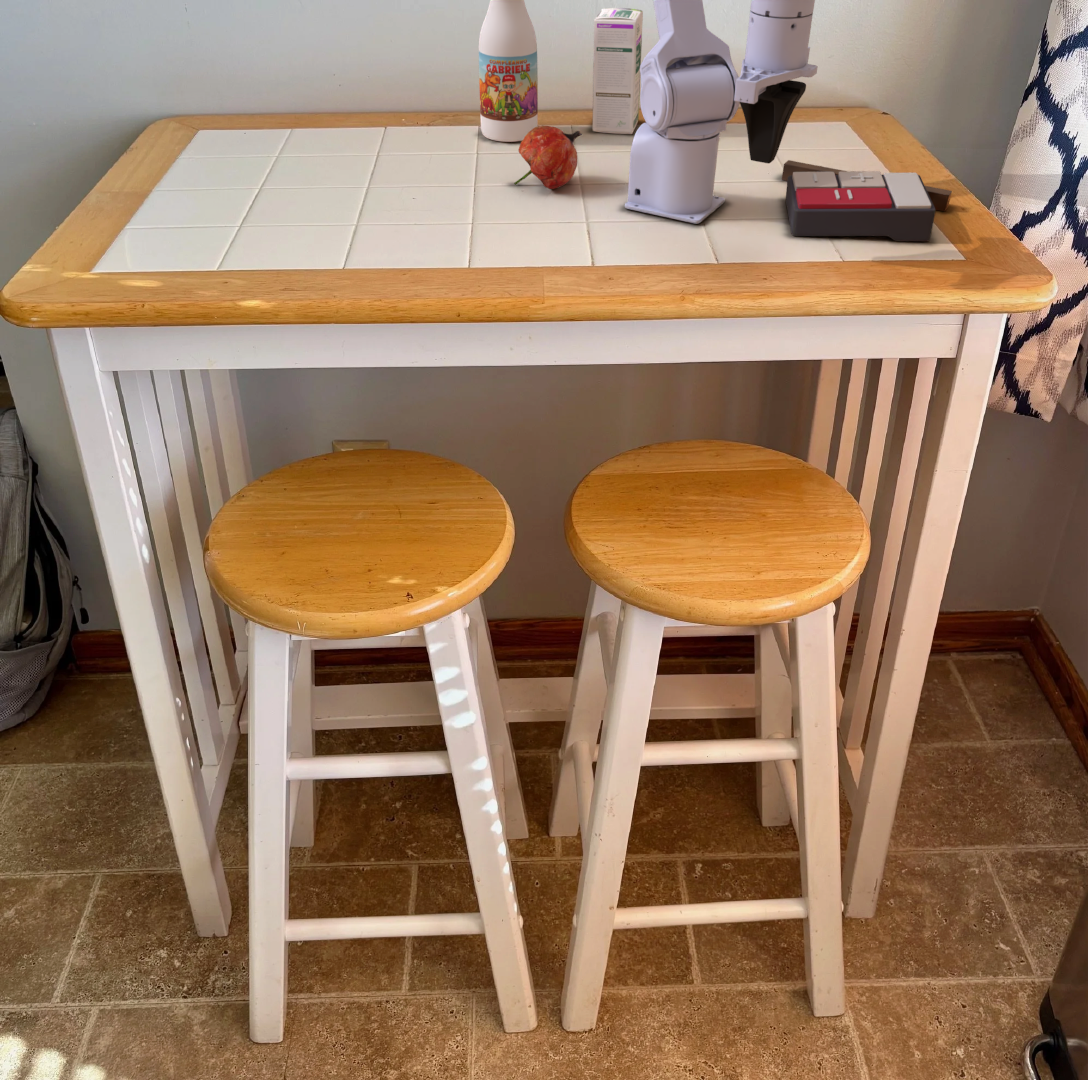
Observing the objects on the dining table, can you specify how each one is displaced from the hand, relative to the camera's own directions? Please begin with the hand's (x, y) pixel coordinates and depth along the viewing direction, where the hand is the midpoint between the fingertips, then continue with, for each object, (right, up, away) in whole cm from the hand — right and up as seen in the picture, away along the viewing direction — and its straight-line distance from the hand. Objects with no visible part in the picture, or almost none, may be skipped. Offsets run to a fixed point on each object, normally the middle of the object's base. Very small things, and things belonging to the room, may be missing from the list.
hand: (762, 160), depth 105 cm
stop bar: (+16, +4, +21) cm, 27 cm away
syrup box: (-12, +19, +40) cm, 46 cm away
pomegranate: (-22, +5, +23) cm, 32 cm away
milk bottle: (-27, +17, +38) cm, 49 cm away
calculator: (+14, -2, +15) cm, 20 cm away
